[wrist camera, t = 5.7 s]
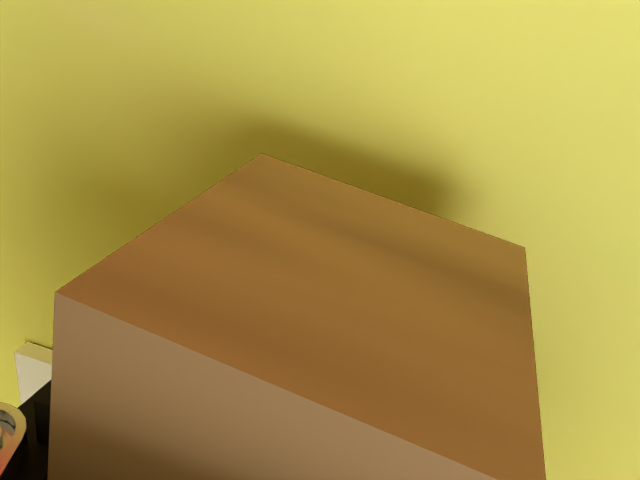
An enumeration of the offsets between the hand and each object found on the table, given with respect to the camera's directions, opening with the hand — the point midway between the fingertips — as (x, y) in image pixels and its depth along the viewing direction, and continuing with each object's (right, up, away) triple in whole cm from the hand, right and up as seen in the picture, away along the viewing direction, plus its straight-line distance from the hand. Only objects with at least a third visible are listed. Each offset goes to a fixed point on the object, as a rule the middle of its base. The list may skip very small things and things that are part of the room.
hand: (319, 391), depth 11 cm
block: (0, 0, +1) cm, 1 cm away
